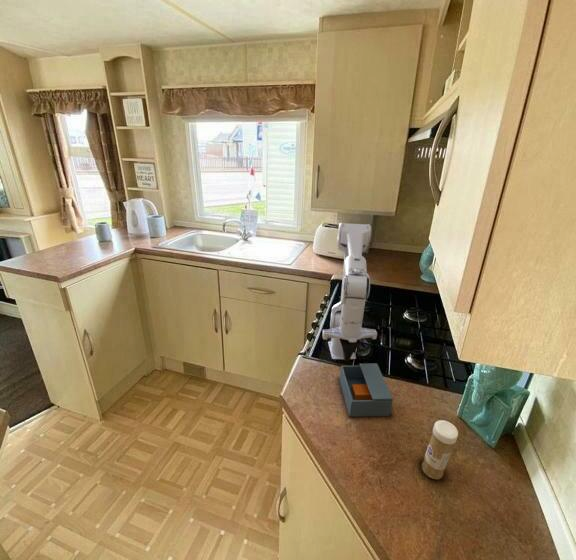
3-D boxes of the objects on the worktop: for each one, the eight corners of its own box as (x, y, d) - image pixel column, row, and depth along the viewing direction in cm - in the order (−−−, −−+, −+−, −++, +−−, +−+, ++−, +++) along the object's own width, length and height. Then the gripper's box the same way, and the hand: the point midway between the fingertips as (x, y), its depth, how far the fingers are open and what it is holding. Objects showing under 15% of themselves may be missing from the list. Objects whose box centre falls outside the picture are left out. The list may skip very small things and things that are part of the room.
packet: (354, 401, 87) (355, 394, 86) (351, 390, 91) (351, 384, 90) (375, 400, 88) (376, 394, 87) (371, 390, 91) (372, 383, 90)
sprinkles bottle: (417, 464, 71) (429, 422, 66) (433, 458, 73) (446, 416, 67) (431, 483, 68) (446, 440, 62) (448, 476, 69) (464, 434, 63)
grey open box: (339, 379, 96) (341, 365, 93) (374, 379, 96) (376, 365, 94) (349, 416, 83) (351, 401, 81) (389, 415, 84) (392, 400, 81)
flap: (359, 364, 93) (359, 363, 93) (376, 364, 94) (376, 363, 93) (372, 400, 81) (372, 398, 81) (392, 399, 81) (392, 398, 81)
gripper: (326, 326, 79) (322, 368, 85) (383, 325, 79) (375, 367, 85) (322, 311, 85) (319, 351, 91) (375, 311, 86) (368, 351, 92)
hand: (346, 358), depth 89 cm, fingers closed
